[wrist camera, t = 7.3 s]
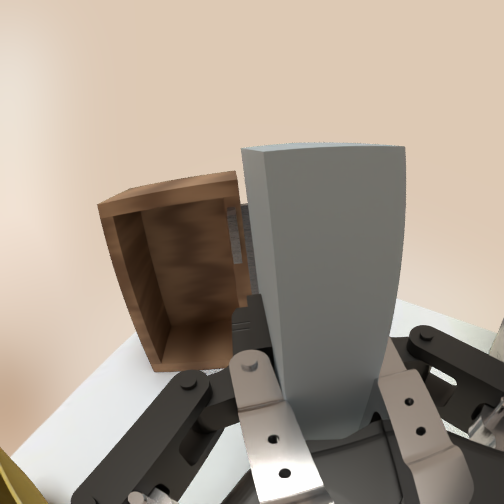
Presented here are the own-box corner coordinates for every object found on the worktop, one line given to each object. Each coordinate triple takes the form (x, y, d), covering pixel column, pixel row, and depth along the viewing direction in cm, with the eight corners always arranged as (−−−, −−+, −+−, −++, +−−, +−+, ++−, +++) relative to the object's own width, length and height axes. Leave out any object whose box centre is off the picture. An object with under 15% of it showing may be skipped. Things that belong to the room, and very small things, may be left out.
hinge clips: (294, 354, 27) (286, 198, 21) (300, 375, 24) (295, 207, 18) (250, 361, 27) (227, 205, 21) (252, 382, 24) (227, 215, 18)
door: (305, 393, 17) (296, 143, 11) (333, 490, 10) (404, 146, 4) (272, 399, 17) (240, 148, 11) (290, 499, 10) (263, 151, 4)
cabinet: (254, 319, 34) (235, 170, 27) (260, 363, 26) (237, 179, 20) (166, 328, 33) (129, 188, 27) (154, 372, 26) (97, 204, 19)
